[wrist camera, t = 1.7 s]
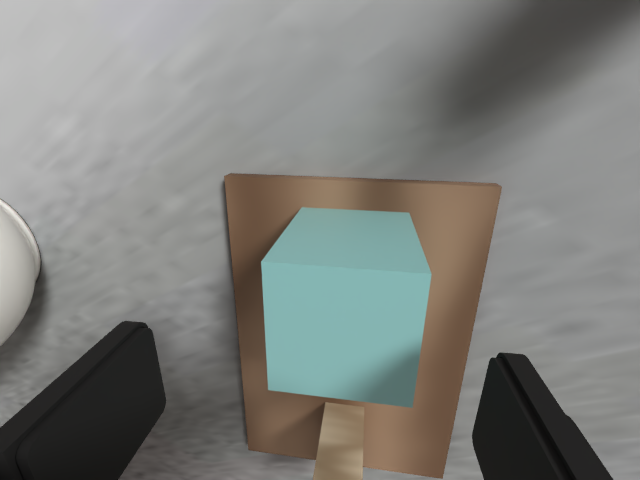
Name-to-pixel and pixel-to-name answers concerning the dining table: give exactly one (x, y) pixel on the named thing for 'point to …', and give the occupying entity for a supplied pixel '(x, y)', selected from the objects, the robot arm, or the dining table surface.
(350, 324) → the teal block
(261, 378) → the walnut board
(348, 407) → the beech post
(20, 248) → the lidded bowl
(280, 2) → the dining table surface
